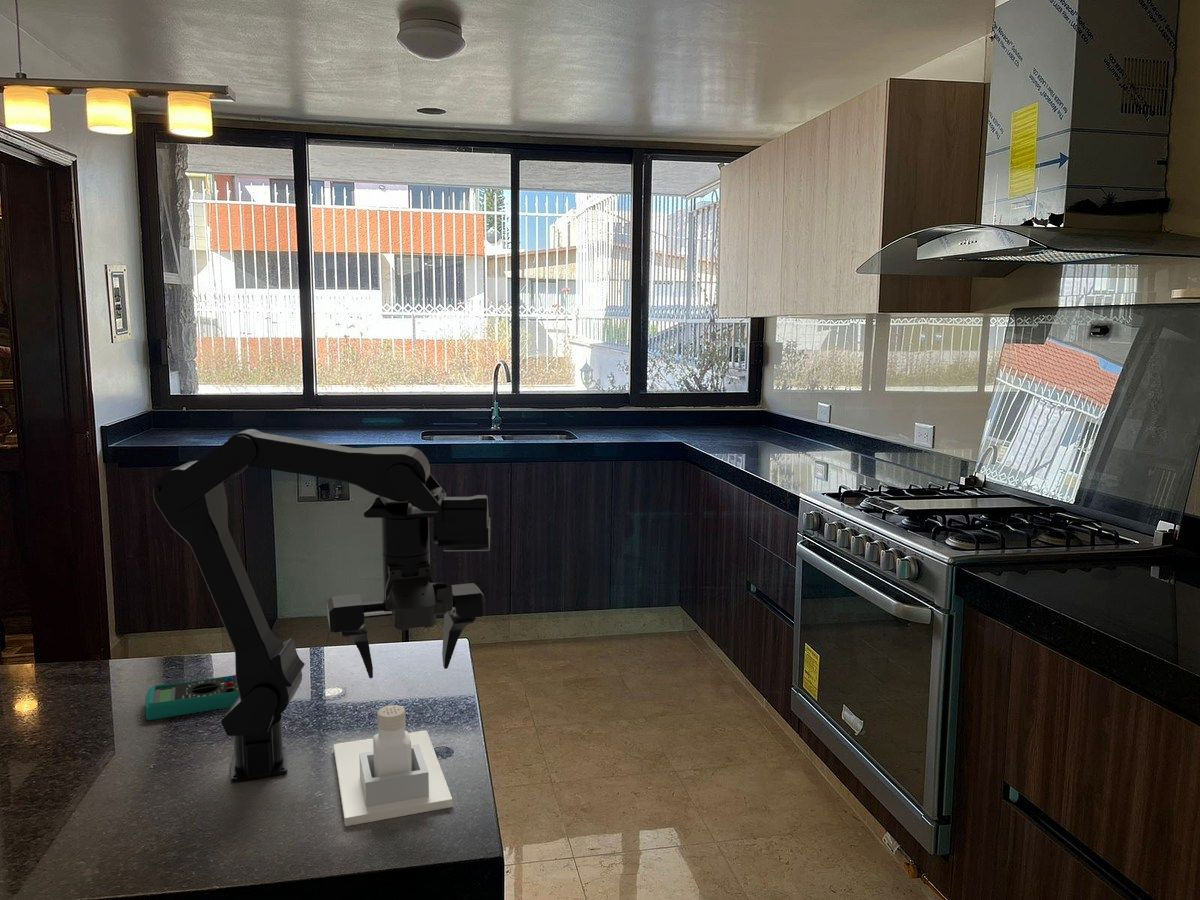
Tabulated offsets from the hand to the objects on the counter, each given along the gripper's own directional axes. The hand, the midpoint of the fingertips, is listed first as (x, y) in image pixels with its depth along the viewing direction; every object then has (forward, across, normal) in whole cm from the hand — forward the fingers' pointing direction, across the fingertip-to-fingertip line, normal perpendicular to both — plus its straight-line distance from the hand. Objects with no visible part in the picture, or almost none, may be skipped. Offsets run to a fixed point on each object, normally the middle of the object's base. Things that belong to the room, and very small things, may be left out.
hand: (408, 672), depth 111 cm
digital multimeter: (+13, -26, +27) cm, 40 cm away
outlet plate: (+12, -3, -3) cm, 13 cm away
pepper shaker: (+11, -3, -7) cm, 14 cm away
